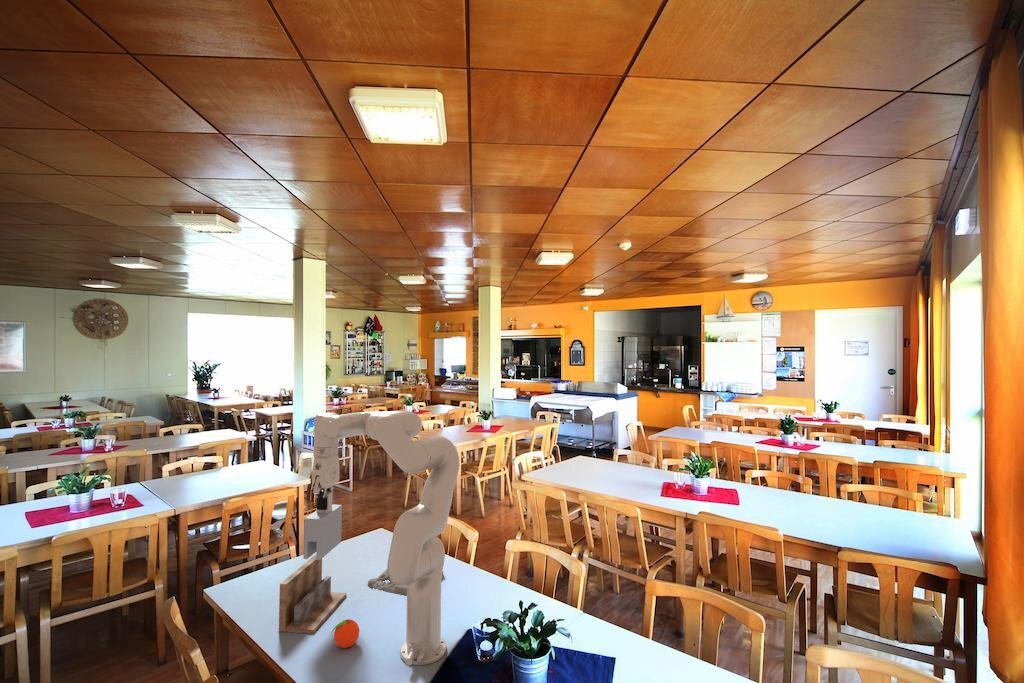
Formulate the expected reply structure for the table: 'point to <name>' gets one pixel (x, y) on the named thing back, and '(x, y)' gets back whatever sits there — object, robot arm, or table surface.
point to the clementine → (346, 633)
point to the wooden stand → (306, 599)
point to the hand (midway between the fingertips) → (324, 507)
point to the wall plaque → (388, 584)
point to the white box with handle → (322, 530)
